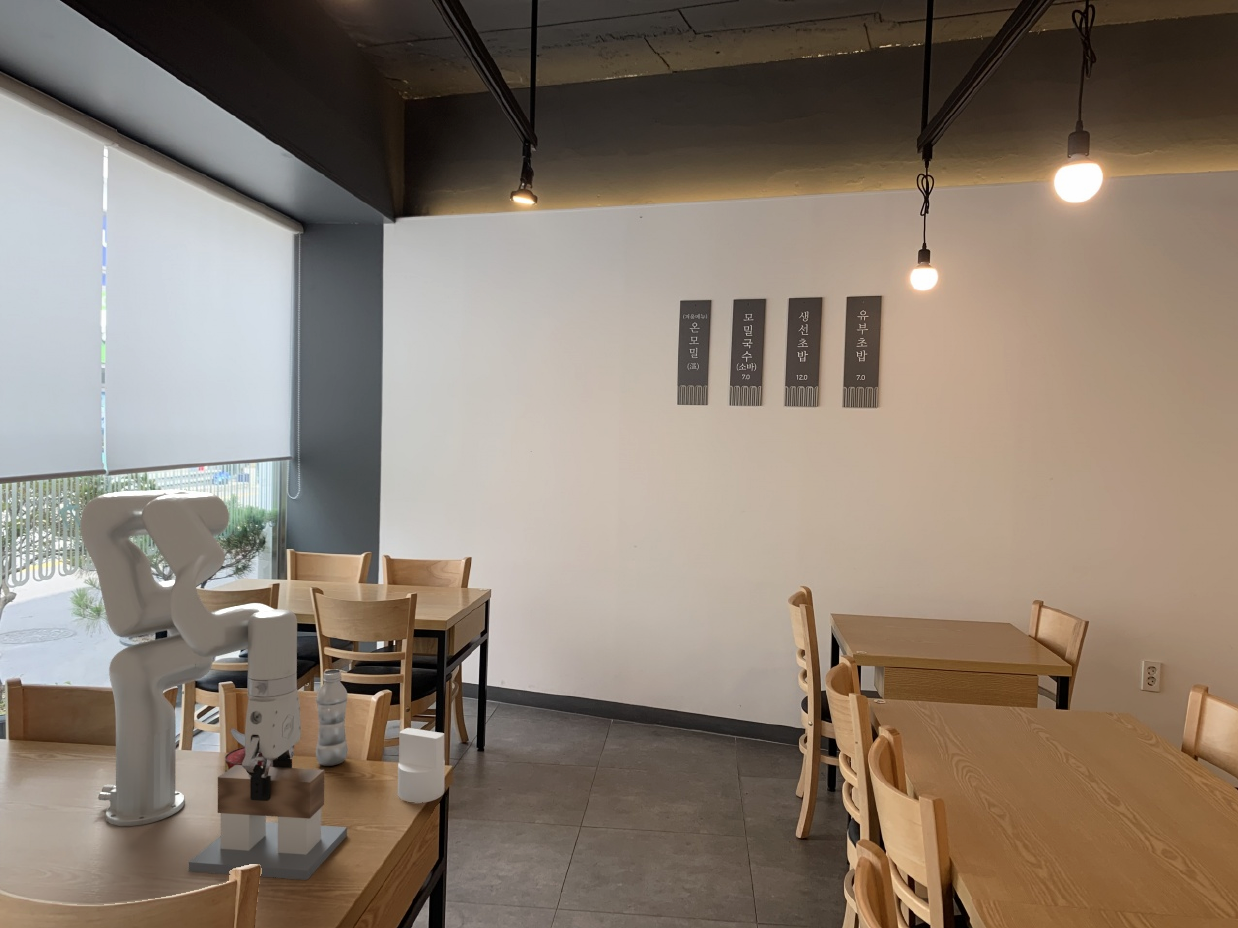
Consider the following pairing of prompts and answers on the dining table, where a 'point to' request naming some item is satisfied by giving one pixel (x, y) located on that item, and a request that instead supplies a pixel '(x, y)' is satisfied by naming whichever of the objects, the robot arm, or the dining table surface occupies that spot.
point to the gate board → (270, 846)
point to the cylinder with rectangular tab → (421, 765)
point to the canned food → (239, 753)
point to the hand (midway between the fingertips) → (271, 789)
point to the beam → (273, 793)
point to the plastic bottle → (331, 720)
